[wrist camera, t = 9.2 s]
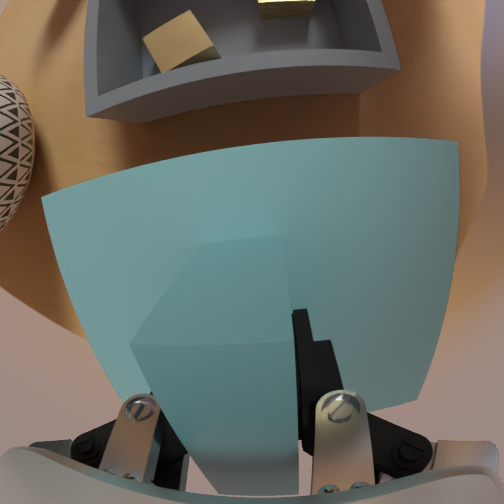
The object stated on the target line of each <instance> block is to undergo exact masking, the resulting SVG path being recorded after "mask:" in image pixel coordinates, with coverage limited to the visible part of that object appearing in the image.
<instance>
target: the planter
mask: <svg viewBox="0 0 504 504" xmlns="http://www.w3.org/2000/svg"><path fill="white" fill-rule="evenodd" d="M34 156H35V129H34V123H33V118H32V114H31V111H30V108H29V105H28V103H27V101H26V99H25V97H24V95H23V93H22V92H21V91H20V89H19V88H18V87H17V86H16V85H15V84H14V83H13V82H12V81H10V80H9V79H7V78H6V77H4V76H2V75H0V231H1V230H2V229H3V228H4V227H5V226H6V225H7V224H8V222H9V221H10V220H11V219H12V217H13V216H14V214H15V212H16V211H17V209H18V207H19V205H20V203H21V201H22V199H23V197H24V195H25V192H26V189H27V187H28V184H29V180H30V177H31V173H32V169H33V164H34Z"/></svg>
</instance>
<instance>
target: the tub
mask: <svg viewBox="0 0 504 504" xmlns="http://www.w3.org/2000/svg"><path fill="white" fill-rule="evenodd" d="M188 10H190V11H191V12H192V14H193V15H194V17H195V18H196V19H197V21H198V22H199V24H200V25H201V27H202V28H203V30H204V31H205V33H206V34H207V36H208V37H209V39H210V40H211V42H212V43H213V45H214V46H215V48H216V50H217V51H218V53H219V55H220V56H221V59H216V60H211V61H206V62H202V63H197V64H193V65H189V66H185V67H181V68H177V69H174V70H170V71H167V72H163V73H161V71H160V69H159V67H158V66H157V64H156V62H155V60H154V58H153V57H152V55H151V53H150V51H149V50H148V48H147V46H146V44H145V42H144V41H143V39H142V38H143V37H145V36H146V35H148V34H149V33H151V32H152V31H154V30H156V29H157V28H159V27H160V26H162V25H164V24H165V23H167V22H169V21H170V20H172V19H174V18H176V17H177V16H179V15H181V14H183V13H185V12H186V11H188ZM400 70H401V66H400V61H399V57H398V53H397V49H396V45H395V42H394V38H393V35H392V31H391V28H390V25H389V22H388V18H387V15H386V12H385V10H384V7H383V4H382V1H381V0H316V1H315V4H314V8H313V11H312V15H311V17H294V18H276V19H265V20H260V15H259V10H258V5H257V0H88V5H87V15H86V26H85V45H84V86H85V105H86V117H92V118H102V119H111V120H120V121H127V122H134V123H141V124H143V123H146V122H150V121H153V120H157V119H161V118H164V117H168V116H172V115H176V114H180V113H184V112H189V111H193V110H198V109H203V108H208V107H213V106H218V105H224V104H230V103H236V102H242V101H250V100H257V99H265V98H275V97H286V96H299V95H318V94H361V93H362V92H364V91H366V90H367V89H369V88H371V87H372V86H374V85H376V84H377V83H379V82H381V81H383V80H384V79H386V78H388V77H390V76H391V75H393V74H395V73H397V72H399V71H400Z"/></svg>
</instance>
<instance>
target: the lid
mask: <svg viewBox="0 0 504 504" xmlns="http://www.w3.org/2000/svg"><path fill="white" fill-rule="evenodd" d="M41 199H42V204H43V209H44V214H45V218H46V222H47V227H48V231H49V234H50V238H51V242H52V246H53V249H54V252H55V256H56V259H57V262H58V265H59V269H60V272H61V275H62V277H63V280H64V283H65V286H66V289H67V291H68V294H69V297H70V299H71V302H72V304H73V307H74V309H75V312H76V314H77V316H78V319H79V321H80V323H81V326H82V328H83V330H84V332H85V334H86V337H87V339H88V341H89V343H90V345H91V347H92V349H93V351H94V353H95V355H96V357H97V359H98V360H99V362H100V364H101V366H102V368H103V370H104V372H105V373H106V375H107V377H108V379H109V381H110V382H111V384H112V386H113V387H114V389H115V391H116V392H117V394H118V395H119V397H120V399H121V400H122V402H123V403H124V402H125V401H126V400H127V399H128V398H130V397H132V396H134V395H137V394H143V393H146V394H150V392H151V391H152V393H153V395H154V397H155V399H156V401H157V402H158V404H159V406H160V408H161V409H162V411H163V413H164V415H165V416H166V418H167V420H168V422H169V423H170V425H171V426H172V428H173V430H174V431H175V433H176V435H177V436H178V438H179V439H180V441H181V442H182V444H183V445H184V447H185V448H186V450H187V451H188V453H189V454H190V456H191V457H192V459H193V460H194V462H195V463H196V464H197V466H198V467H199V468H200V470H201V471H202V473H203V474H204V475H205V477H206V478H207V479H208V481H209V482H210V483H211V484H212V486H213V487H214V488H215V490H216V491H217V492H218V493H219V494H226V495H248V496H271V495H272V496H274V495H294V494H298V493H299V462H298V461H299V458H298V414H297V388H296V367H295V349H294V335H293V326H292V316H291V314H293V310H296V309H305V308H307V310H308V315H309V320H310V325H311V330H312V335H313V340H314V341H320V340H328V339H330V340H331V342H332V346H333V349H334V353H335V357H336V361H337V364H338V368H339V372H340V376H341V380H342V384H343V388H344V390H348V391H352V392H355V393H356V394H358V395H360V396H361V398H362V399H363V400H364V402H365V405H366V411H367V412H371V411H375V410H380V409H384V408H388V407H392V406H396V405H400V404H404V403H407V402H411V401H414V400H417V398H418V396H419V393H420V391H421V388H422V386H423V383H424V381H425V378H426V376H427V373H428V370H429V367H430V364H431V361H432V358H433V355H434V352H435V349H436V345H437V342H438V339H439V335H440V331H441V328H442V324H443V320H444V315H445V311H446V307H447V303H448V298H449V293H450V288H451V282H452V277H453V270H454V264H455V256H456V248H457V238H458V226H459V208H460V166H459V149H458V141H450V140H440V139H426V138H408V137H336V138H316V139H302V140H290V141H280V142H270V143H261V144H253V145H246V146H239V147H232V148H225V149H219V150H213V151H207V152H202V153H196V154H191V155H186V156H181V157H176V158H172V159H167V160H162V161H158V162H154V163H150V164H146V165H141V166H138V167H134V168H130V169H126V170H122V171H119V172H115V173H112V174H108V175H105V176H101V177H98V178H95V179H92V180H88V181H85V182H82V183H79V184H76V185H73V186H70V187H67V188H65V189H62V190H59V191H56V192H53V193H51V194H48V195H45V196H43V197H41Z"/></svg>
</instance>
